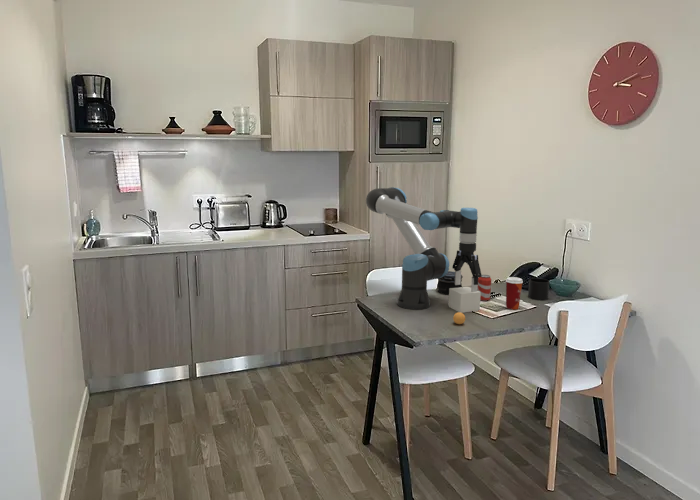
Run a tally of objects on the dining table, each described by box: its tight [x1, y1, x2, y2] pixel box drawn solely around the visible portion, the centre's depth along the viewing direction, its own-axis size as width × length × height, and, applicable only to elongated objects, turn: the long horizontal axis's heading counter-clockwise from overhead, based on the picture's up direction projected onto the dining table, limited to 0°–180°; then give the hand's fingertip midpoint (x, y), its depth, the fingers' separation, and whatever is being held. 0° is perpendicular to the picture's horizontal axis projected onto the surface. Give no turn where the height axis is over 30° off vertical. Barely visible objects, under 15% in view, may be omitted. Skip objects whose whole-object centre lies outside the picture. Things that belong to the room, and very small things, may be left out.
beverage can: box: [477, 274, 492, 302], centre depth 257 cm, size 6×6×12 cm
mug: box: [527, 277, 550, 301], centre depth 263 cm, size 9×12×9 cm
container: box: [436, 270, 464, 295], centre depth 271 cm, size 13×13×10 cm
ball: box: [452, 311, 466, 325], centre depth 221 cm, size 5×5×5 cm
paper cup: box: [505, 276, 524, 311], centre depth 244 cm, size 8×8×14 cm
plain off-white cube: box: [448, 286, 481, 314], centre depth 242 cm, size 10×10×9 cm
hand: (465, 288), depth 241 cm, fingers open, 13 cm apart
